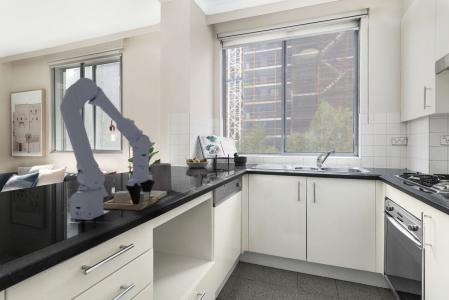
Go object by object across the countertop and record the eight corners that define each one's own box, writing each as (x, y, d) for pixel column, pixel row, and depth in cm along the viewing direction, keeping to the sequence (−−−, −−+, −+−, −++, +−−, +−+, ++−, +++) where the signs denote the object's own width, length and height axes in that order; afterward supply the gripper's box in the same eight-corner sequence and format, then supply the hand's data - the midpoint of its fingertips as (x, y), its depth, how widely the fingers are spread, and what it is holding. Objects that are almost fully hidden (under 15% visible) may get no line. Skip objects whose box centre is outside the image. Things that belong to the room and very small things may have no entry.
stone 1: (126, 204, 91) (126, 193, 90) (114, 205, 90) (114, 193, 90) (130, 202, 94) (129, 191, 94) (118, 202, 94) (118, 191, 94)
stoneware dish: (155, 201, 98) (155, 196, 97) (132, 200, 99) (132, 195, 99) (166, 195, 108) (166, 191, 108) (145, 195, 110) (145, 190, 110)
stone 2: (144, 206, 88) (143, 194, 88) (133, 205, 89) (132, 193, 89) (149, 203, 92) (149, 191, 92) (138, 203, 93) (138, 191, 93)
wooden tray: (140, 211, 83) (140, 205, 83) (101, 209, 86) (101, 203, 86) (158, 201, 97) (158, 196, 97) (124, 200, 100) (124, 195, 100)
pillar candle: (155, 189, 124) (154, 160, 124) (173, 189, 124) (173, 160, 124) (148, 193, 115) (147, 162, 114) (168, 193, 114) (168, 162, 114)
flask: (86, 198, 104) (85, 175, 104) (101, 195, 110) (101, 174, 110) (96, 200, 101) (96, 176, 100) (111, 197, 107) (111, 174, 107)
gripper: (140, 168, 83) (140, 206, 83) (159, 164, 97) (159, 197, 97) (121, 167, 84) (122, 206, 84) (143, 164, 98) (143, 197, 99)
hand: (141, 201), depth 91 cm, fingers open, 7 cm apart
